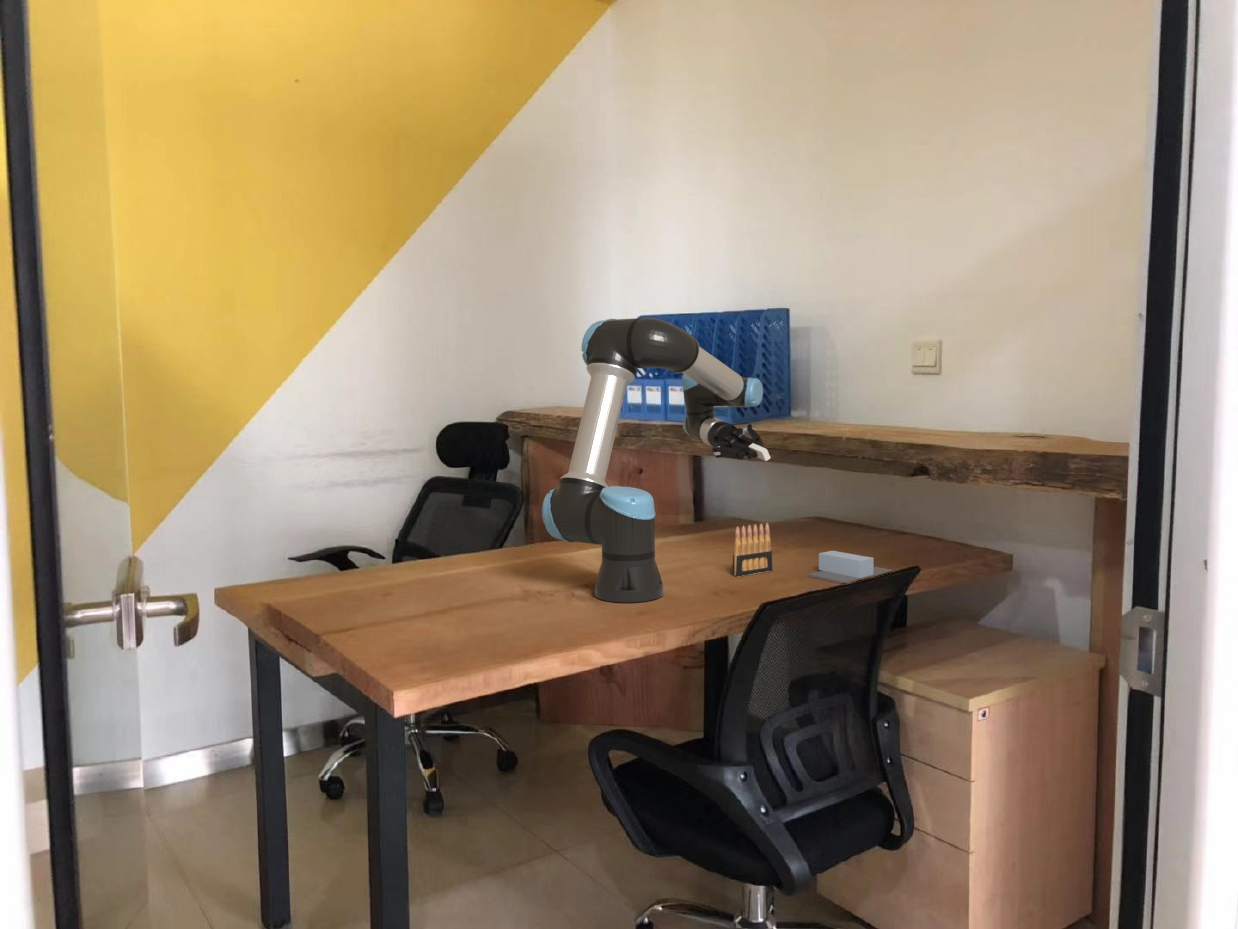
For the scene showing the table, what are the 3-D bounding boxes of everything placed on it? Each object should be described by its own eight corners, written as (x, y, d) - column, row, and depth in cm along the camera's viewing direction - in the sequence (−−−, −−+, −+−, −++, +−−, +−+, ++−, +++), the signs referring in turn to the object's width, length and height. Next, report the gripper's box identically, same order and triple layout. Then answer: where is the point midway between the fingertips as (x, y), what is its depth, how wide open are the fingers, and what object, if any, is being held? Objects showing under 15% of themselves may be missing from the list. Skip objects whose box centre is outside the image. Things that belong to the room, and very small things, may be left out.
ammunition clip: (736, 577, 223) (736, 527, 222) (732, 575, 225) (731, 526, 223) (772, 571, 228) (772, 522, 227) (767, 570, 230) (767, 521, 229)
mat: (845, 584, 214) (845, 582, 214) (807, 576, 222) (807, 574, 222) (893, 572, 225) (893, 570, 225) (855, 565, 233) (855, 563, 233)
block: (818, 569, 226) (860, 578, 217) (818, 553, 226) (860, 561, 217) (832, 566, 230) (873, 574, 220) (832, 550, 229) (873, 557, 220)
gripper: (744, 433, 253) (792, 453, 232) (705, 459, 250) (751, 482, 229) (733, 409, 250) (781, 428, 229) (694, 436, 247) (739, 457, 226)
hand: (766, 455), depth 229 cm, fingers closed
